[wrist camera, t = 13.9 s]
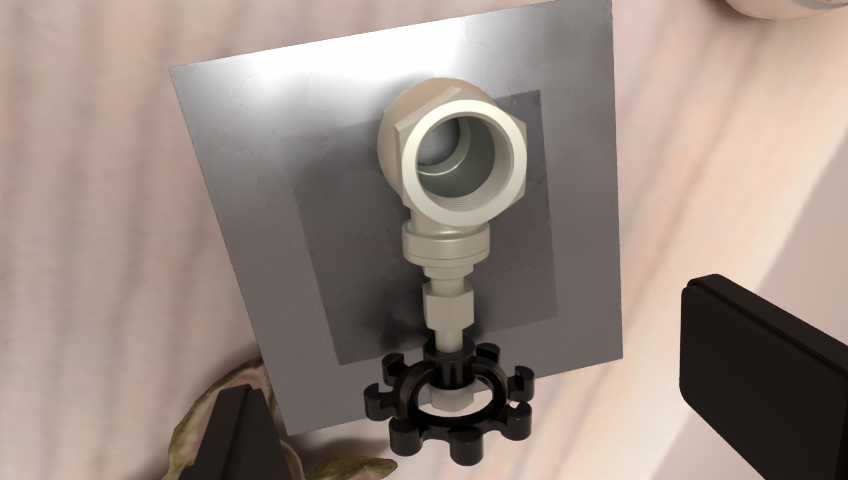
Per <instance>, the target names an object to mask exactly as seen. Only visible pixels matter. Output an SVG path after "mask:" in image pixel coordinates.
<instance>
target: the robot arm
mask: <svg viewBox="0 0 848 480" xmlns="http://www.w3.org/2000/svg"><path fill="white" fill-rule="evenodd" d="M679 387H680V392H681V394H682V397H683V398H684V400H685V401H686V402H687V404H688V405H689V406H690V407H692V408H693V409H694V410H695V411H696V412H697V413H698V414H699V415H700V416H701V417H702V418H703V419H704V420H705V421H706V422H707V423H708V424H709V425H710V426H711V427H712V428H713V429H714V430H715V431H716V432H717V433H718V434H719V435H720V436H721V437H722V438H723V439H724V440H725V441H726V442H727V443H728V444H729V445H731V447H732V448H734V449H735V450H736V451H737V452H738V453H739V454H740V455H741V456H742V457H743V458H744V459H745V460H746V461H747V462H748V463H749V464H750V465H751V466H752V467H753V468H754V469H755V470H756V471H757V472H758V473H759V474H760V475H761V476H762V477H763V478H764V479H765V480H848V346H847V345H845V344H844V343H842V342H840V341H838V340H837V339H835V338H833V337H831V336H829V335H827V334H826V333H824V332H822V331H820V330H819V329H817V328H815V327H813V326H811V325H810V324H808V323H806V322H804V321H802V320H801V319H799V318H797V317H795V316H794V315H792V314H790V313H788V312H786V311H785V310H783V309H781V308H779V307H777V306H776V305H774V304H772V303H770V302H769V301H767V300H765V299H763V298H761V297H760V296H758V295H756V294H754V293H752V292H751V291H749V290H747V289H745V288H743V287H742V286H740V285H738V284H736V283H735V282H733V281H731V280H729V279H727V278H726V277H724V276H722V275H719V274H711V275H707V276H703V277H699V278H694V279H691V280H690V281H689V282H688V284H687V287H685V288H684V289H683V290H682V294H681V333H680V376H679ZM178 480H293V479H292V476H291V473H290V470H289V467H288V464H287V461H286V458H285V455H284V452H283V449H282V446H281V443H280V440H279V437H278V434H277V431H276V429H275V426H274V423H273V420H272V417H271V414H270V411H269V408H268V405H267V402H266V399H265V396H264V393H263V391H262V389H261V388H257V389H253V388H252V386H251V385H250V384H249V383H247V384H243V385H239V386H235V387H230V388H226V389H222V390H220V391H219V393H218V396H217V399H216V401H215V404H214V407H213V410H212V413H211V416H210V419H209V421H208V424H207V427H206V430H205V433H204V436H203V439H202V442H201V444H200V447H199V450H198V453H197V456H196V459H195V462H194V464H193V465H189V466H186V467H185V468H184V469H183V470H182V472H181V474H180V476H179V478H178Z"/></svg>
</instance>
